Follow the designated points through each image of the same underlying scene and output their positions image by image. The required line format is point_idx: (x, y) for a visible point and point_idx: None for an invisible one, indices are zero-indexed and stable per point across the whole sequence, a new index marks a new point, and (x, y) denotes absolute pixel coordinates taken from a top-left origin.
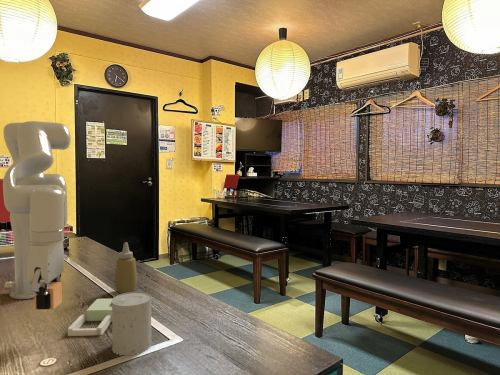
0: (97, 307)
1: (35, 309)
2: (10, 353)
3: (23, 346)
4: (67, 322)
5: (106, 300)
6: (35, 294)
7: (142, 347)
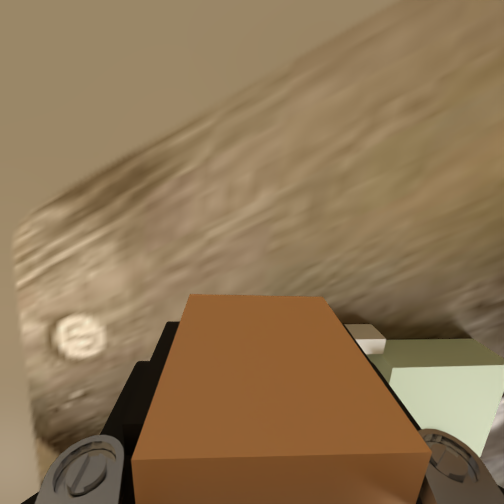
0: (413, 397)
1: (190, 298)
2: (130, 177)
3: (185, 201)
4: (371, 278)
5: (479, 405)
6: (65, 454)
7: None
